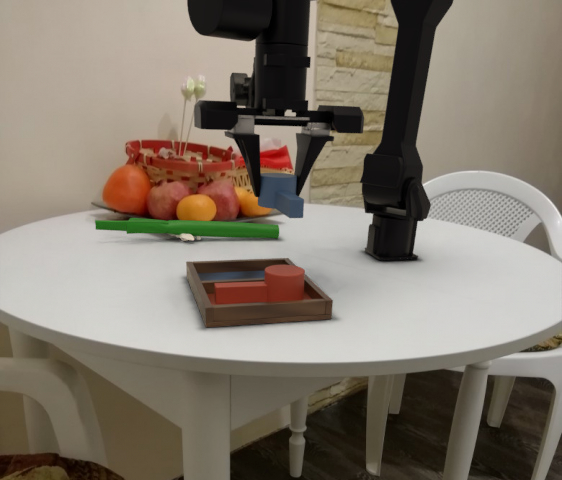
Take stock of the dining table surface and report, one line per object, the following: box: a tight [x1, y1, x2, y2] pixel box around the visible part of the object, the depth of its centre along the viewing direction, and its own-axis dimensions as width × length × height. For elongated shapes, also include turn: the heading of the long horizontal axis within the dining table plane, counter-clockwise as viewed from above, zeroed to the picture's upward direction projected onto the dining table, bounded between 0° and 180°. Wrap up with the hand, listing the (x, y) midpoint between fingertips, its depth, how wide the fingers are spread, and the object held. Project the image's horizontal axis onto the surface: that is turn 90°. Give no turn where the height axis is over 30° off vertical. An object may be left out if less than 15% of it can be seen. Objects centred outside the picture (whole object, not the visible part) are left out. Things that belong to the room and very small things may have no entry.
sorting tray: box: [185, 257, 334, 328], centre depth 66 cm, size 14×18×2 cm
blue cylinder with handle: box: [257, 172, 305, 219], centre depth 63 cm, size 10×5×4 cm, turn 16°
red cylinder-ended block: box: [214, 265, 306, 304], centre depth 62 cm, size 10×5×4 cm, turn 103°
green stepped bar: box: [94, 217, 280, 242], centre depth 90 cm, size 5×3×30 cm
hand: (276, 196), depth 66 cm, fingers closed on blue cylinder with handle, 4 cm apart
